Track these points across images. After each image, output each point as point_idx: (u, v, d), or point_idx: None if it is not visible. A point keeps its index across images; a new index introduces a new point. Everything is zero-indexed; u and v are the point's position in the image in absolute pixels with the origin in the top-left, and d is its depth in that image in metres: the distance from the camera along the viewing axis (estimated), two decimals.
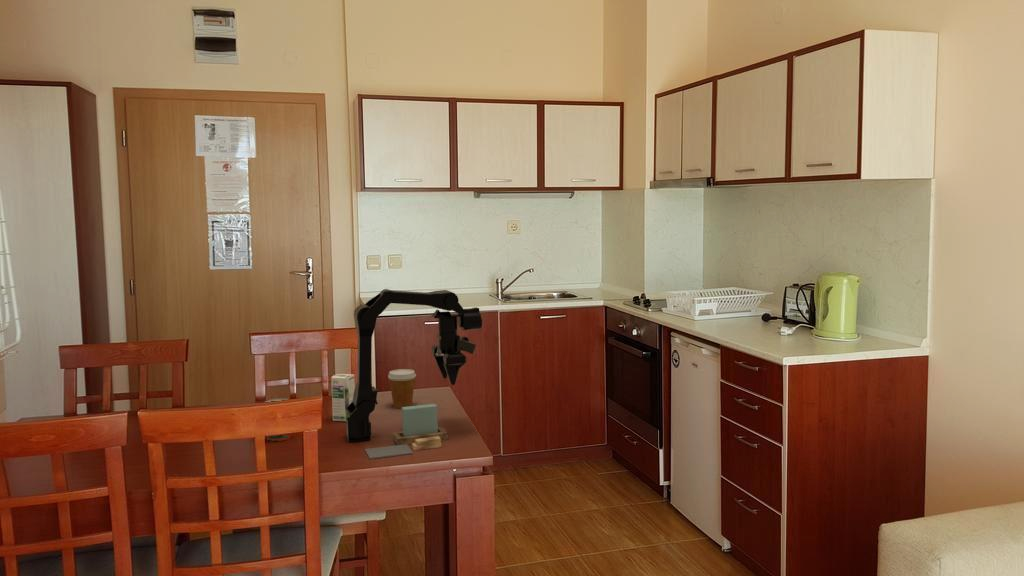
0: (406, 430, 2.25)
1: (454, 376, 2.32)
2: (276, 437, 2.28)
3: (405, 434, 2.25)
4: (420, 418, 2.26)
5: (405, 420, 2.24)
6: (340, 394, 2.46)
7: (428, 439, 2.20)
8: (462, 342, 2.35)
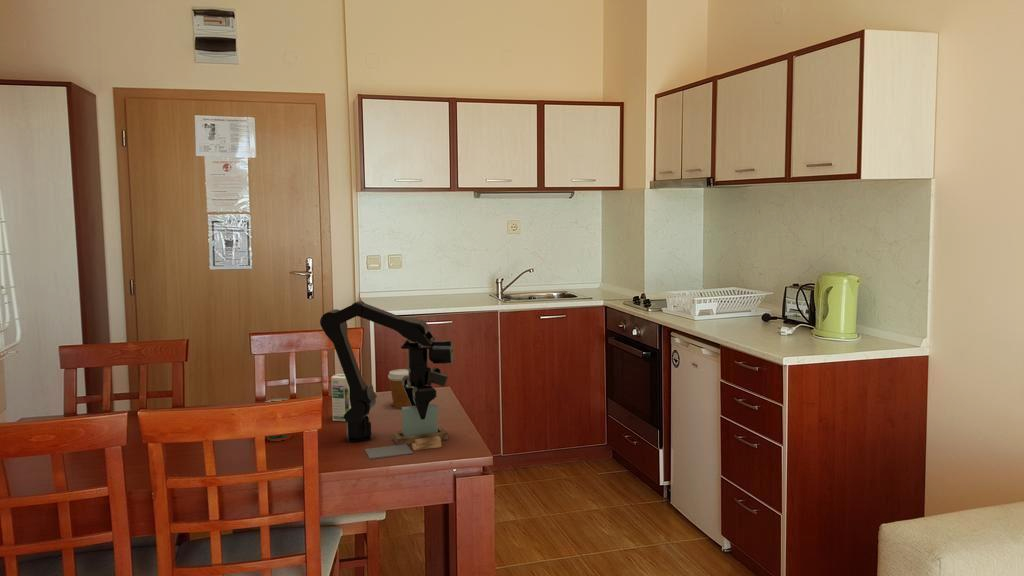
0: (406, 430, 2.25)
1: (424, 410, 2.22)
2: (276, 437, 2.28)
3: (405, 434, 2.25)
4: (420, 418, 2.26)
5: (405, 420, 2.24)
6: (340, 394, 2.46)
7: (428, 439, 2.20)
8: (433, 374, 2.25)
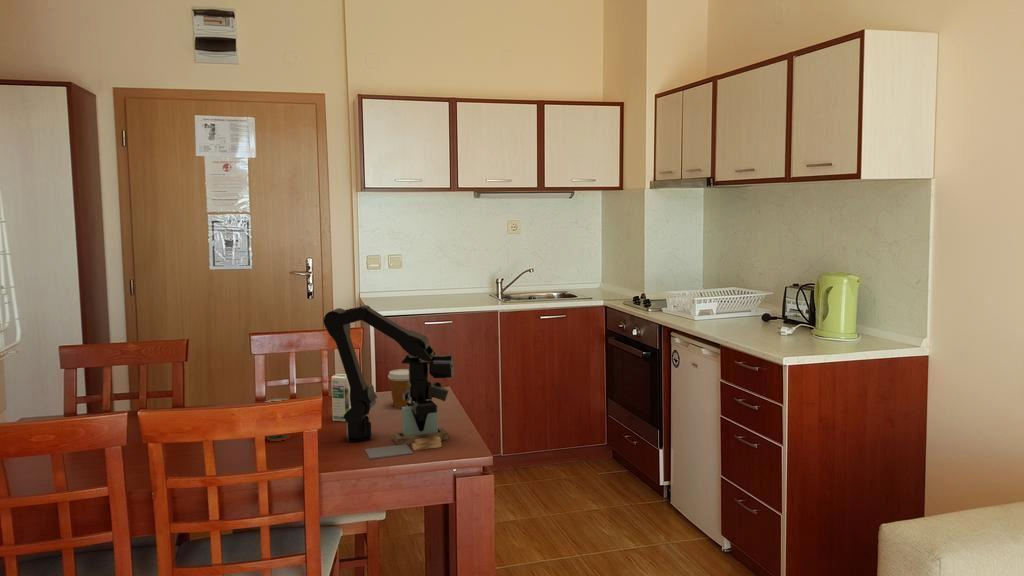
0: (406, 430, 2.25)
1: (422, 422, 2.25)
2: (276, 437, 2.28)
3: (405, 434, 2.25)
4: None
5: (405, 420, 2.24)
6: (340, 394, 2.46)
7: (428, 439, 2.20)
8: (433, 389, 2.25)
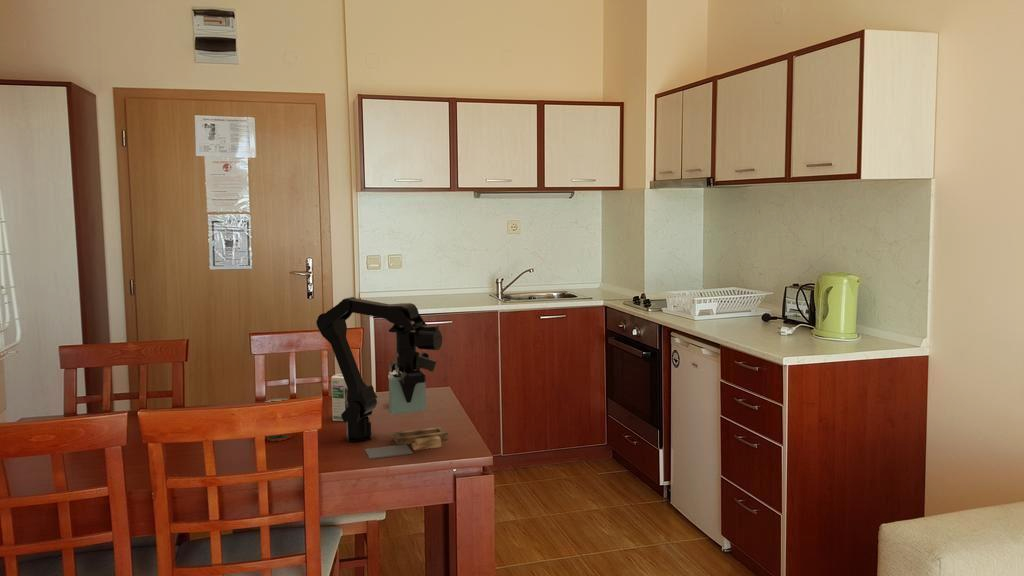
0: (394, 401, 2.19)
1: (410, 393, 2.20)
2: (276, 437, 2.28)
3: (392, 405, 2.19)
4: None
5: (392, 391, 2.19)
6: (340, 394, 2.46)
7: (428, 439, 2.20)
8: (421, 359, 2.20)
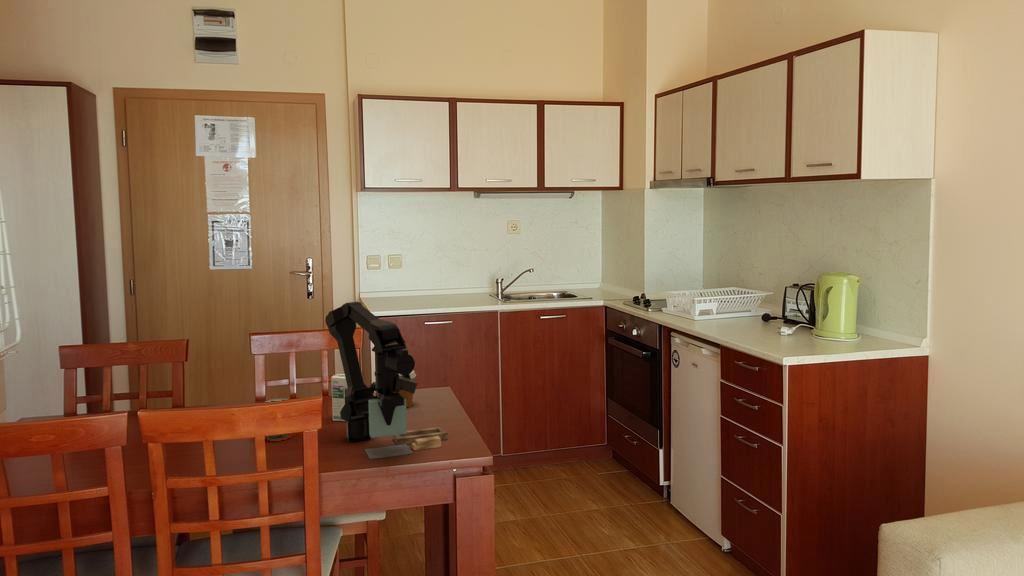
0: (373, 424, 2.13)
1: (390, 416, 2.13)
2: (276, 437, 2.28)
3: (372, 428, 2.13)
4: None
5: (372, 413, 2.13)
6: (340, 394, 2.46)
7: (428, 439, 2.20)
8: (402, 381, 2.14)
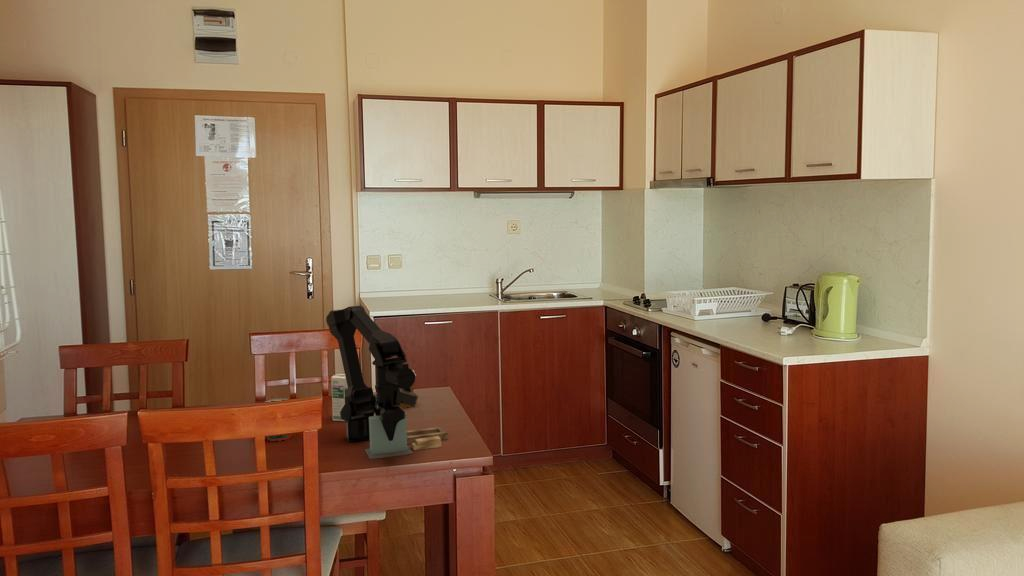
0: (374, 441, 2.14)
1: (392, 431, 2.12)
2: (276, 437, 2.28)
3: (372, 445, 2.14)
4: None
5: (372, 430, 2.13)
6: (340, 394, 2.46)
7: (428, 439, 2.20)
8: (402, 394, 2.14)
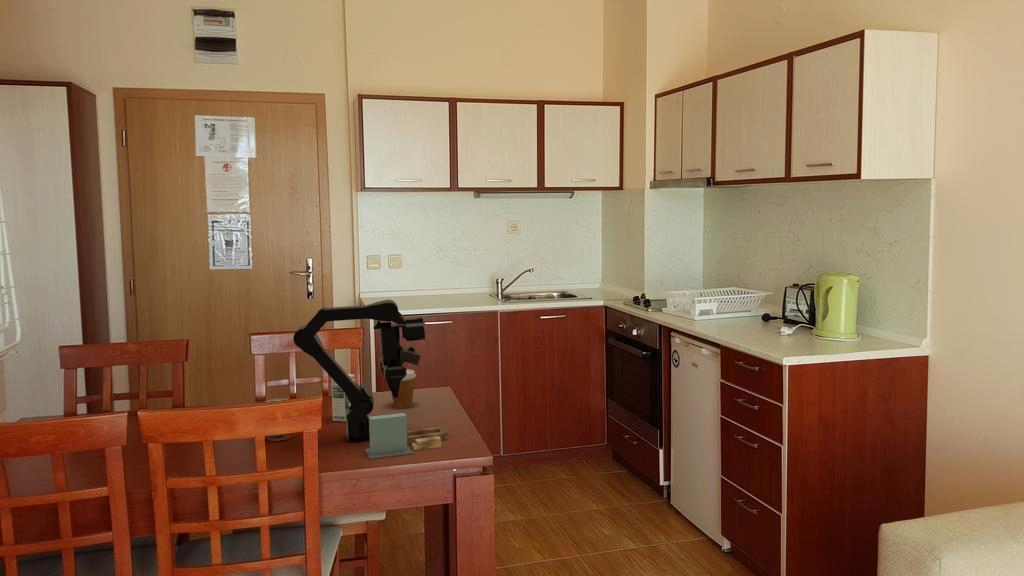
0: (374, 441, 2.14)
1: (396, 389, 2.24)
2: (276, 437, 2.28)
3: (372, 445, 2.14)
4: (388, 428, 2.15)
5: (372, 430, 2.13)
6: (340, 394, 2.46)
7: (428, 439, 2.20)
8: (405, 353, 2.27)
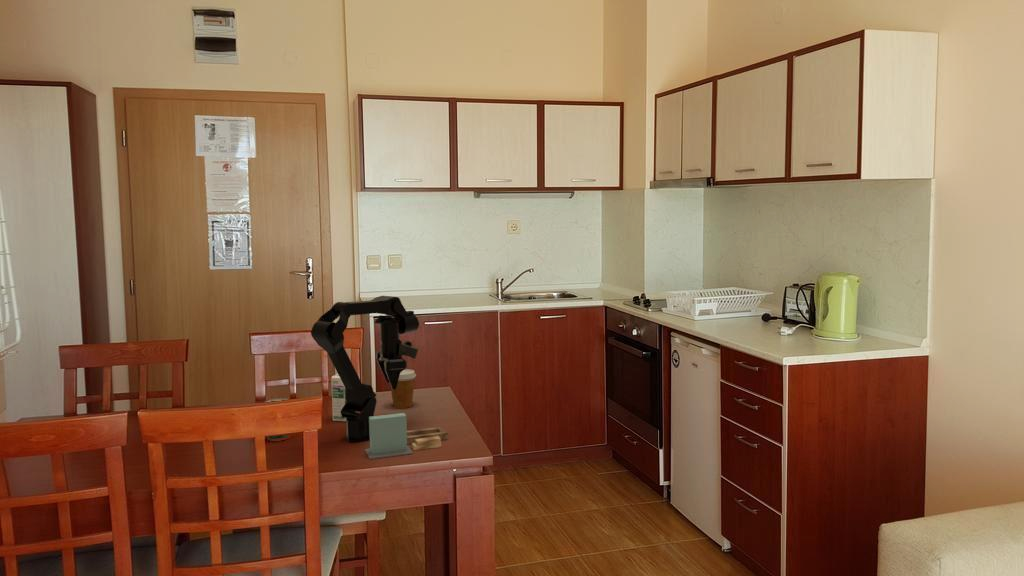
0: (374, 441, 2.14)
1: (395, 381, 2.34)
2: (276, 437, 2.28)
3: (372, 445, 2.14)
4: (388, 428, 2.15)
5: (372, 430, 2.13)
6: (340, 394, 2.46)
7: (428, 439, 2.20)
8: (404, 347, 2.37)
